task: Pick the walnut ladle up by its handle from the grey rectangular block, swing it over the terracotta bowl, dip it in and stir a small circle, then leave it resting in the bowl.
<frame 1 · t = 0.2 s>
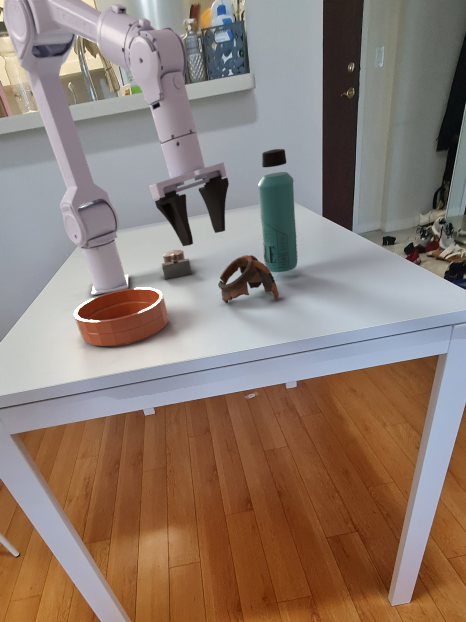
hand: (204, 238, 77), 11 cm above the table, tool pointing down, fingers open, 7 cm apart
ladle: (175, 265, 107), on the table, touching grey rectangular block
beverage bottle: (281, 276, 90), on the table
broken clay pot: (251, 300, 82), on the table
grey rectangular block: (178, 275, 100), on the table
bowl: (126, 330, 79), on the table
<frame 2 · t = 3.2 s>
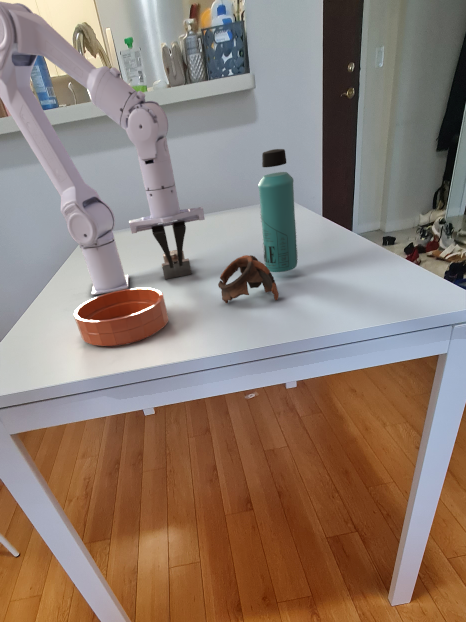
hand: (176, 265, 94), 3 cm above the table, tool pointing down, fingers closed on ladle
ladle: (175, 265, 107), on the table, touching gripper, grey rectangular block
everything else where it was.
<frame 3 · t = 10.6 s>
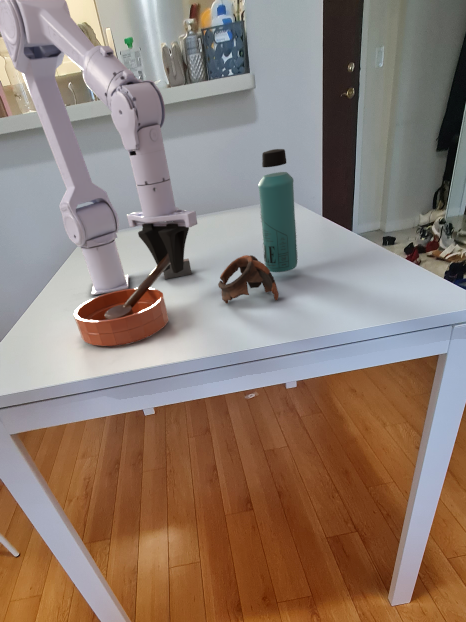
hand: (171, 270, 83), 5 cm above the table, tool pointing down, fingers open, 3 cm apart
ladle: (123, 325, 79), point 1 cm above the table, tilted 7°, touching bowl
everything else where it was.
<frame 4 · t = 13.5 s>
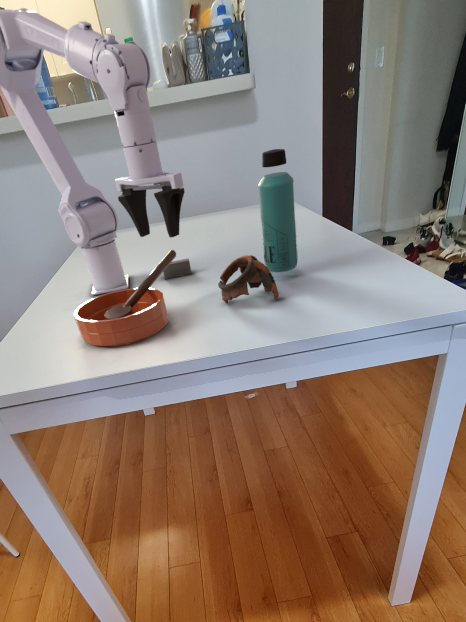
hand: (159, 235, 85), 10 cm above the table, tool pointing down, fingers open, 7 cm apart
nothing on the table moved.
at the end: ladle inside the target area in the bowl (0.4 cm from its centre), point 0.9 cm above the bowl's base; ladle moved 37.9 cm from its start; the gripper is holding nothing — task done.
